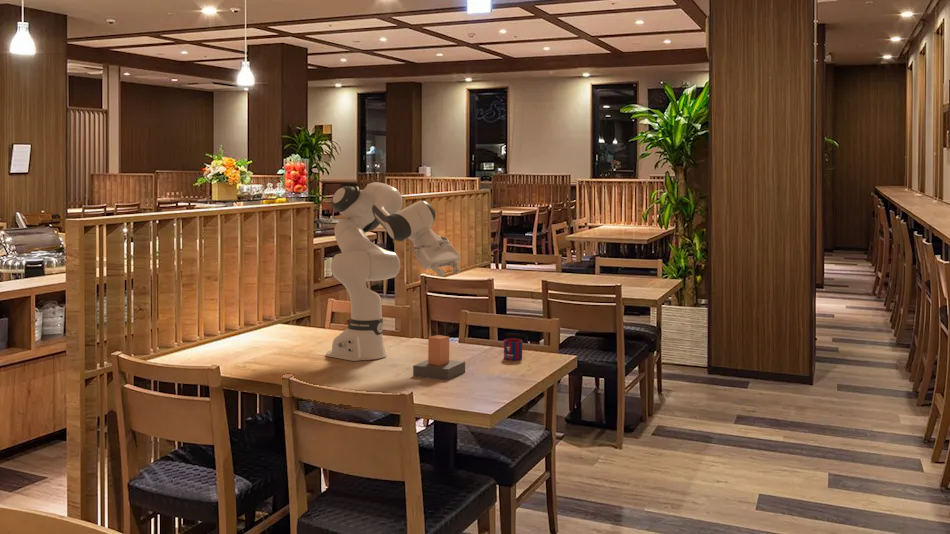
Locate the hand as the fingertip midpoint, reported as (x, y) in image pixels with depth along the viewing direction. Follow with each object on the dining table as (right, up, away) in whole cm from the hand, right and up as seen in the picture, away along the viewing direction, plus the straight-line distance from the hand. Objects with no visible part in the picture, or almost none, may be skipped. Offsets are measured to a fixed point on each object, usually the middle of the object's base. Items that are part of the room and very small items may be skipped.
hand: (450, 273), depth 311 cm
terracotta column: (-4, -30, -18) cm, 35 cm away
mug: (+23, -31, +8) cm, 40 cm away
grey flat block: (-3, -34, -18) cm, 39 cm away
